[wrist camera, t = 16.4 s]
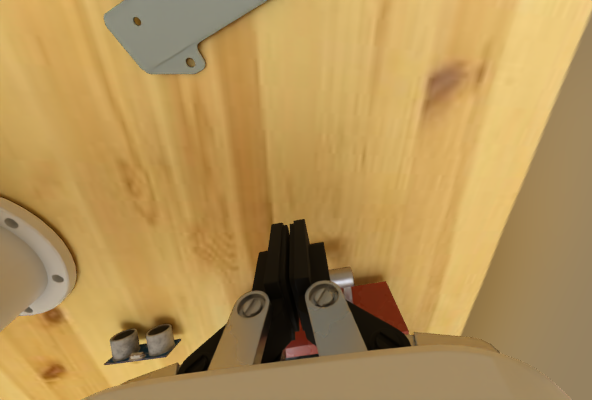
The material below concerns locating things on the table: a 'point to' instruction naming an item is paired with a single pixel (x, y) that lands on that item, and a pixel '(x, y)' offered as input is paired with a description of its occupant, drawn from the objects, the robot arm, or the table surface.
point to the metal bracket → (171, 30)
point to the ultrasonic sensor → (142, 345)
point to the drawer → (364, 296)
